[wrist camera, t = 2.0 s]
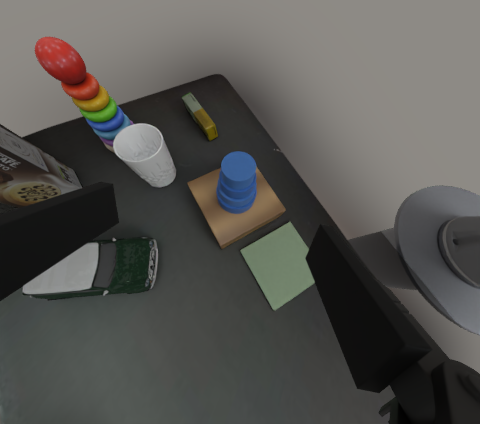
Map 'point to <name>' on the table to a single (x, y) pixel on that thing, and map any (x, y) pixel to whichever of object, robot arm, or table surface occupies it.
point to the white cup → (145, 154)
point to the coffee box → (30, 172)
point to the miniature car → (99, 270)
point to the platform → (235, 225)
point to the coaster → (279, 265)
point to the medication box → (200, 116)
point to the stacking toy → (82, 88)
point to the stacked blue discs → (237, 183)
